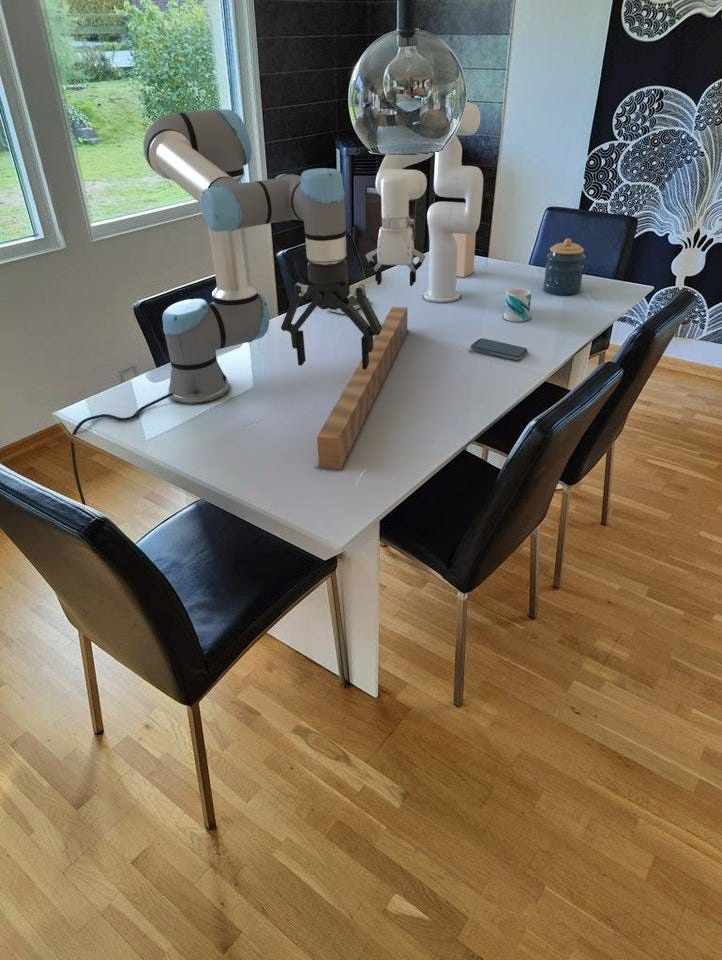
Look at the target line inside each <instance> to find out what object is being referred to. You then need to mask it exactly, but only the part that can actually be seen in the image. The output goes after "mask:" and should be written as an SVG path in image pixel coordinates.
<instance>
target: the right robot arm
mask: <svg viewBox="0 0 722 960" xmlns="http://www.w3.org/2000/svg"><path fill="white" fill-rule="evenodd" d="M465 102H466V107H465V111H464V115H463V118H462V122H461V124H460V126H459V128H458V130H457V132H456V134H455V135H454V137H453V138H452V140H451V141H450V143H449V144H448V145H447V146H446V147H445V148H444V149H443V150H441V151H439V152H434V153H428V154H417V155H387V154H386V155H385V156H384V157H383V159H382V160H381V161H382V162H381V163H380V166H379V168H378V171H377V173H376V177H375V190H376V192H377V194H378V195H379V196H380V198H381V199H380V200H381V201H380V202H381V203H380V204H381V226H380V227H379V231H378V237H377V248H375V249H373V250H371V251H369V252H367V253H366V254H365V258H366V260H367V262H368V264H369V266H370V267H371V268H372V269H373V271H374V276H375V277H374V279H375V282H376V285H377V286H379V285H381V284H382V281H383V278H382V277H383V276H382V275H383V273H382V272H383V271H382V270H383V269H382V268H381V267H382V265H383V266H407V267H408V268H409V270H410V271H409V286H410V287H413V286H414V284H415V283H416V281H417V270H419V269H420V267H421V266H422V265H423V263H424V261H425V259H426V254H424V253H423V252H421V251H419V250H417V249H415V247H414V246H415V245H414V234H413V233H414V232H413V228H412V227H411V226H410V225H414V224H415V219H414V218H411V217H410V214H409V213H410V212H409V211H410V208H409V207H410V200H418V199H419V198H421V197H423V195H424V194H425V192H426V190H427V185H428V180H427V177H426V175H425V173H424V172H422V171H421V170H419V169H405V168H407V167H409V166H412V165H415V164H418V163H421V162H423V161H426V160H428V159H430V158H431V157H433V155H434V169H433V170H434V172H433V191H434V193H435V195H436V196H438V197H442V198H453V199H464V201H465V202H458V201H437V202H434V203H431V204H430V205H429V207H428V210H427V213H426V220H427V228H428V236H429V241H428V242H429V249H428V250H429V253H428V255H429V256H428V290H427V291H425V292H424V293H423V296H424V300H427V301H429V302H433V303H451V302H455V301H457V300H459V299H460V297H461V293H460V292H459V291H458V290H457V276H456V272H457V250H458V247H457V242H456V240H455V238H454V236H453V235H452V233H458V234H473V233H475V232H476V233H477V231H478V229H479V228H480V224H481V215H482V206H483V205H482V204H483V191H484V175H483V172H482V170H481V169H480V168H479V166H474V165H463V164H462V161H463V159H462V158H463V146H462V143H461V142H460V139H459V137H458V136H473V135H475V134H476V133H477V131H478V130H479V127H480V125H481V111H480V108H479V107H478V105H477V104H476V103H473V102H469V101H465ZM375 255H376V256H377V257H376V260H377V262H376V261H375V260H374V258H373V257H374V256H375ZM415 257H417V258H418V261H417V263H415V262H414V259H415Z"/></svg>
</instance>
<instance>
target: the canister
mask: <svg viewBox="0 0 722 960" xmlns="http://www.w3.org/2000/svg"><path fill="white" fill-rule="evenodd" d="M549 251H550V252H548V253H547V254H546V258H547V262H546V264H545V272H544V273H545V274H544V281H543V290H544V291H545V292H546V293H549V294H552V295H560V296H568V295H569V296H570V295H575V294H577V293H579V292H581V289H582V281H583V273H584V268H585V265H584V260H585V259H586V255H585V254H584V252H585V249H584V248H583V247H582V246H581V245H580V244H578V243H575V242H573V241H572V239H571V238H565V239H564V241H563V242H559V243H555V244H554V245H552V246H551V247H550V248H549Z"/></svg>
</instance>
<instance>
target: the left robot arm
mask: <svg viewBox="0 0 722 960" xmlns="http://www.w3.org/2000/svg"><path fill="white" fill-rule="evenodd" d="M142 144H143V145H142V151H143V156H144V159H145V161H146V163H147V165H149V167H150V168H151V169H152V171H154V172H155V173H156V174H157V175H158V176H159V177H161V178H163V179H165V180H171V181H173V182H174V183H175V184H177V185H178V186H179V187H180V188H181V189H183V190H184V191H185V192H186V193H187V194H188V195H190V196H191V197H192V198H193V199H194V200H196V201H197V202H198V203H199V204H200V211H201V216H202V218H203V221H204V222H205V224H206V226H207V229H208V236H209V243H210V249H211V255H212V263H213V269H214V276H215V282H216V283H215V284H216V287H215V288H214V290H213V291H212V293H211V296H212V302H209V303H208V302H207V300H205V299H203V298H193V299H191V298H188V299H184V300H180V301H177V302H175V303H173V304H171V305H170V306H168V307H167V308H166V309H165V310H164V311H163V313H162V327H163V329H162V330H163V334H164V337H165V342H166V345H167V352H168V356H169V361H170V367H171V369H170V370H171V371H170V377H169V386H168V394H166V395H163V396H161V397H160V398H157V399H155V400H153V401H151V402H149V403H146V404H145V405H143V406H141V407H140V408H138V409H137V410H136V412H135V413H133V415H131V416H127V417H120V416H117V415H112V414H108V413H102V414H96V415H92V416H89V417H86V418H83V419H82V420H81V421H80V422H78V424H77V425H76V426H75V428H74V429H73V431H72V433H71V436H75V435H76V434H77V433H78V430H79V429H80V428H81V427H82V426H83V425H84V424H85V423H86V422H88V421H93V420H96V419H100V418H101V419H102V418H110V419H113V420H117V421H122V422H123V421H124V422H125V421H126V422H127V421H130V420H133V419H135V418H137V416H139V414H140V413H141V412H142V411H144V410H145V409H147V408H149V407H151V406H154V405H156V404H157V403H160V402H161V401H163V400H166V399H168V398H171V400H173V401H175V402H177V403H180V404H188V405H189V404H190V405H196V404H197V405H198V404H204V403H208V402H212V401H214V400H217V399H219V398H221V397H223V396H224V395H225V394H227V392H228V391H229V383H228V382H229V380H228V377H227V375H225V373H224V372H223V370H222V368H221V366H220V363H219V362H218V358H217V352H216V351H218V350H221V349H226V348H229V347H233V346H237V345H242V344H245V343H246V344H247V343H252V342H253V341H255V340H260V339H262V338H263V337H265V335H266V334H267V332H268V330H269V327H270V309H269V306H268V302H267V300H266V298H265V296H264V295H263V294H261V293H259V290H258V288H257V287H256V285H255V286H254V285H253V283H252V281H251V280H252V279H251V273H250V271H251V270H250V263H249V255H248V247H247V238H246V231H245V230H246V228H247V229H248V228H251V227H257V226H262V225H269V224H270V225H271V224H275V223H281V222H287V221H293V220H294V221H295V220H298V221H301V222H303V227H304V234H305V235H304V237H305V238H304V239H305V250H306V251H305V253H306V259H307V260H308V261H307V264H306V265H307V277H308V285H307V284H303V283H302V282H300V281H298V282H297V283H295V285H294V286H293V287H292V298H291V301H290V303H289V306H288V308H287V311H286V314H285V316H284V319H283V321H282V324H281V325H280V329H281V331H283V332H285V331H286V332H288V333H289V334H290V338H291V346H292V349H293V350H296V355H297V356H296V357H297V366H303V364H304V363H305V362H306V361H307V360H306V350H305V338H304V337H305V335H304V330H301V327H302V326H303V325H304V324H305V322H306V321H307V320H308V319H309V317H310V316H311V315H312V313H313V312H314V311H315V309H316V308H317V307H318V308H320V309H321V310H328V308H329V309H332V310H337V309H338V308H340V309H341V310H342V312H344V313H346V314H345V315H346V316H347V317H348V319H350V321H351V322H352V323H353V325H355V327H356V328H357V329H358V330H359V331H360V333H362V337H361V339H360V340H361V341H360V342H361V360H362V368H363V369H367V367H368V365H369V352H370V353H371V352H372V350H373V339H374V337H375V336H376V335H379V334H380V332H381V330H382V326H381V325H382V324H381V322H380V320H379V318H378V316H377V314H376V313H375V310H374V309H373V307H372V304H371V303H370V300H369V301H368V299H367V298H368V297H367V295H366V294H367V293H366V288H365V287H366V286H365V285H364V284H362V283H360V284H359V285H356V286H350V284H349V277H348V276H349V275H348V261H347V260H346V257H347V235H346V207H345V206H346V205H345V196H346V193H345V189H344V182H343V175H342V172H341V171H340V170H339V169H336V168H327V167H320V168H310V169H306V170H303V172H301V175H299V174H295V173H289V174H288V173H281V174H279V175H276V177H274V178H271V179H270V178H269V179H263V180H255V181H248V182H247V181H246V182H241V180H242V179H243V177H244V176H245V167H244V166H247V165H249V164H250V162H251V159H252V143H251V139H250V135H249V131H248V129H247V127H246V124H245V123H244V121H243V120H242V118H241V117H240V115H238V113H237V112H236V111H234V110H232V109H217V108H214V109H204V110H203V109H202V110H194V111H185V112H170V113H167V114H163V115H161V116H160V117H158V118H157V119H156V118H155V120H154V121H153V122H151V124H150V125H149V126H148V128H147V130H146V132H145V134H144V137H143V141H142ZM306 293H307V294H308V295H309V297H310V299H312V301H311V302H310V303H309V305H307V307H306V309H305V310H304V311H303V313H301V315H300V316H299V318H298V319H297V320H296V322H294V323H293V320H294V317H295V314H296V313H297V310H298V308H299V305H300V302H301V301H302V297H304V296H305V295H306ZM349 295H352V296H354V298H357V301H358V304H359V306H360V309H361V311H362V313H363V315H364V317H365V318H364V317H363V315H361V313H359V311H358V310H357V309H355V308H354V307H353V305H352V303H351V301H350V300H349V299H348V297H350V296H349ZM299 329H300V330H299ZM70 450H71V451H70V452H71V460H72V461H71V462H72V467H73V473H74V478H75V483H76V486H77V490H78V494H79V497H80V500H81V504H82V505H83V504H84V505H86V506H87V503H86V500H85V497H84V494H83V490H82V486H81V482H80V476H79V473H78V472H79V471H78V469H77V468H78V467H77V460H76V459H77V458H76V451H75V450H76V449H75V443H74V442H72V441H70Z"/></svg>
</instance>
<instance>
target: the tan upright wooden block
mask: <svg viewBox="0 0 722 960" xmlns="http://www.w3.org/2000/svg"><path fill="white" fill-rule="evenodd" d="M452 235H453V236H454V238H455V240H456V242H457V247H458V250H457V272H456V277H460V278H465V277H467V276H469V275H471V274H472V273H474V272H475V271H474V270H475V255H476V254H475V253H476V236H477V231H476V232H475V233H473V234H458V233H452Z"/></svg>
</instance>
